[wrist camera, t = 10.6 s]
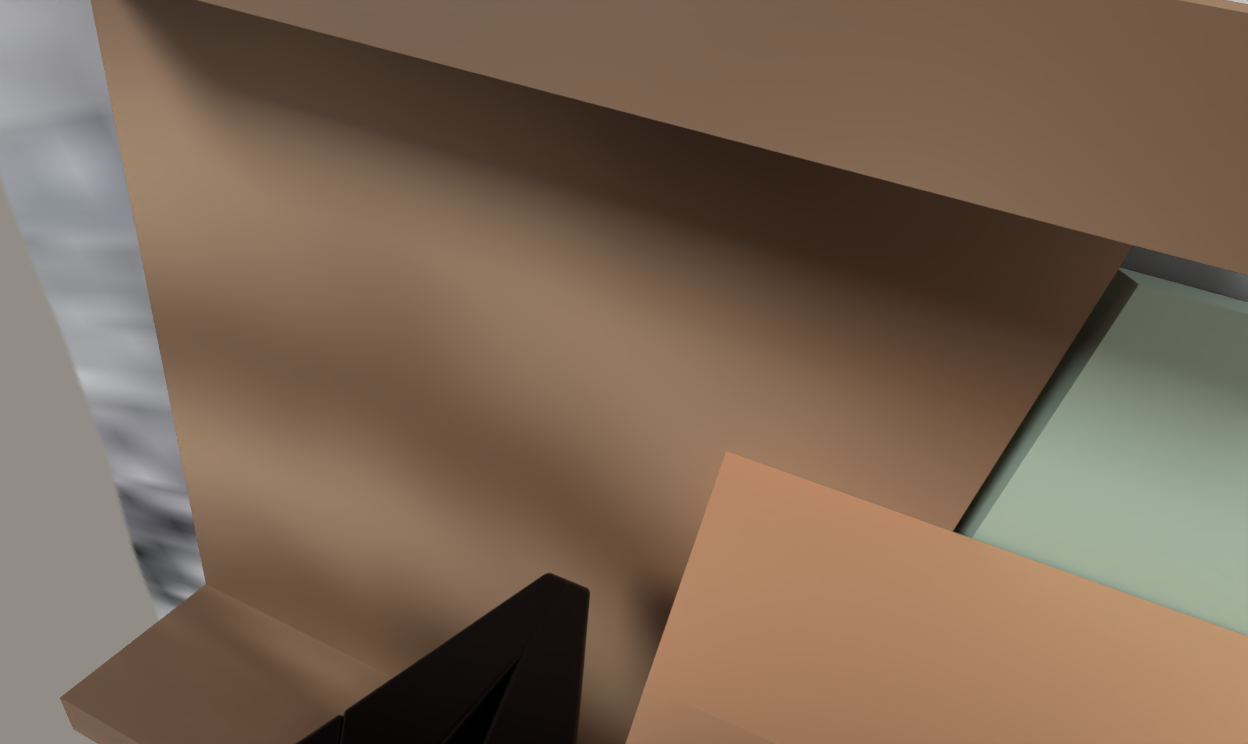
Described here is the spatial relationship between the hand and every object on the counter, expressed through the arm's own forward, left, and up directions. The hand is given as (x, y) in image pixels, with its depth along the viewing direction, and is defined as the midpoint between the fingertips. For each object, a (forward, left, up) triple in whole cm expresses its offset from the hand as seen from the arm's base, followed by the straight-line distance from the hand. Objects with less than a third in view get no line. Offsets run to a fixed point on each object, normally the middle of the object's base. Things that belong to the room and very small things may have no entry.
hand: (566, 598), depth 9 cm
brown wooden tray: (0, +3, -3) cm, 4 cm away
